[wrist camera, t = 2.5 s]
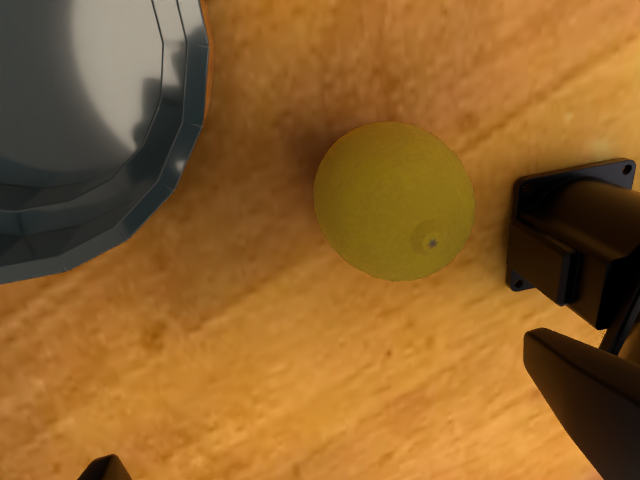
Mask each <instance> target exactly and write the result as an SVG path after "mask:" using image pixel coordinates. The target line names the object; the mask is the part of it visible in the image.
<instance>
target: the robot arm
mask: <svg viewBox="0 0 640 480" xmlns="http://www.w3.org/2000/svg"><path fill="white" fill-rule="evenodd" d="M624 167H625V168H624ZM623 168H624V170H623ZM635 169H636V164H635V162H634V161H633V160H630V159H627V158H620V159H615V160H610V161H605V162H599V163H594V164H589V165H584V166H578V167H573V168H568V169H563V170H558V171H552V172H547V173H542V174H537V175H531V176H526V177H522V178H520V179H519V180H517V182H516V183H515V185H514V189H513V202H512V215H511V222H510V226H509V239H508V252H507V278H506V284H507V286H508V287H509V288H510V289H511V290H512V291H515V292H517V291H522V290H527V289H531V288H537V289H538V290H539V291H541V292H542V293H543V294H544V295H546V296H547V297H548V298H550V299H551V300H552V301H553V302H555V303H556V304H557V305H558V306H565V305H566V306H567V307H568V308H570V309H571V310H572V311H574V312H575V313H576V314H578V315H579V316H580V317H581V318H583V319H584V320H585V321H587V322H588V323H589V324H590V325H592V326H593V327H594V328H596V329H597V330H603V329H607V330H606V333H605V335H604V337H603V339H602V341H601V343H600V346H599V348H595V347H593V346H590V345H588V344H585V343H583V342H580V341H578V340H575V339H572V338H570V337H567V336H565V335H562V334H560V333H557V332H555V331H552V330H549V329H547V328H538V329H534V330H531V331H527V332H526V333H525V335H524V346H523V361H524V365H525V368H526V370H527V372H528V373H529V375H530V376H531V378H532V379H533V381H534V382H535V384H536V386H537V387H538V389H539V390H540V392H541V393H542V395H543V397H544V398H545V400H546V401H547V403H548V404H549V406H550V407H551V409H552V411H553V412H554V414H555V415H556V417H557V418H558V420H559V421H560V423H561V424H562V426H563V427H564V429H565V430H566V432H567V433H568V434H569V436H570V437H571V438H572V440H573V441H574V442H575V444H576V445H577V446H578V447H579V449H580V450H581V451H582V452H583V454H584V455H585V456H586V458H587V459H588V460H589V461H590V463H591V464H592V465H593V466H594V468H595V469H596V470H597V471H598V473H599V474H600V475H601V477H602V478H603V479H604V480H640V193H639V192H636V191H633V190H631V189H632V184H633V179H634V174H635ZM622 170H623V171H622ZM525 185H528V186H527V188H526V189H525V190H524V191H523V188H524V186H525ZM516 281H518V282H517V283H516V284H515V282H516ZM77 480H132V479H131V477H130V475H129V474H128V472H127V470H126V469H125V467H124V465H123V464H122V462H121V461H120V459H119V458H118V456H117V455H115V454H111V455H107V456H104V457H100V458H97V459H95V460H93V461H92V462H91V463H90V464H89V466H88V467H87V468H86V469H85V471H84V472H83V473H82V474H81V476H80V477H79V478H78V479H77Z"/></svg>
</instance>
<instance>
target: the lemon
mask: <svg viewBox="0 0 640 480" xmlns="http://www.w3.org/2000/svg"><path fill="white" fill-rule="evenodd" d="M475 202H476V200H475V196H474V191H473V186H472V182H471V179H470V177H469V176H468V174H467V172H466V170H465V168H464V166H463V164H462V163H461V161H460V159H459V158H458V157H457V155H456V154H455V153H454V152H453V151H452V150H451V149H450V148H449V147H448V146H447V145H446V144H445V143H443V142H442V141H441V140H440V139H439V138H438V137H436V136H435V135H433V134H431V133H429V132H427V131H425V130H423V129H421V128H419V127H417V126H415V125H411V124H406V123H400V122H395V121H385V122H374V123H369V124H366V125H363V126H361V127H358V128H355V129H353V130H351V131H350V132H348V133H347V134H345V135H344V136H342V137H341V138H339V139H338V140H337V141H336V142H335V143H334V144H333V145H332V147H331V148H330V149H329V150H328V151H327V152H326V154H325V156H324V158H323V159H322V161H321V163H320V165H319V167H318V170H317V174H316V178H315V181H314V209H315V212H316V216H317V220H318V224H319V226H320V229H321V230H322V232H323V234H324V236H325V237H326V239H327V241H328V242H329V244H330V245H331V247H332V248H333V249H334V250H335V251H336V252H337V253H338V254H339V255H340V256H341V257H342V258H343V259H344V260H346V261H347V262H348V263H349V264H350V265H352V266H353V267H355V268H356V269H358V270H360V271H362V272H364V273H366V274H368V275H370V276H372V277H375V278H379V279H383V280H388V281H412V280H416V279H420V278H424V277H427V276H429V275H431V274H433V273H435V272H437V271H439V270H441V269H442V268H443V267H445V266H446V265H447V264H448V263H450V262H451V261H452V260H453V259H454V258H455V257H456V256H457V254H458V253H459V252H460V251H461V250H462V249H463V247H464V245H465V243H466V241H467V240H468V238H469V236H470V234H471V230H472V227H473V223H474V219H475Z"/></svg>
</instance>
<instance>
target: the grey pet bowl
mask: <svg viewBox="0 0 640 480" xmlns="http://www.w3.org/2000/svg"><path fill="white" fill-rule="evenodd" d="M214 51H215V46H214V39H213V34H212V29H211V24H210V20H209V15H208V10H207V5H206V1H205V0H0V285H1V284H6V283H11V282H16V281H21V280H26V279H32V278H37V277H42V276H47V275H52V274H58V273H63V272H66V271H70V270H72V269H74V268H76V267H78V266H80V265H82V264H84V263H85V262H87V261H89V260H91V259H93V258H95V257H97V256H99V255H101V254H103V253H105V252H107V251H108V250H110V249H112V248H114V247H116V246H118V245H120V244H122V243H124V242H126V241H127V240H128V239H130V238H131V237H132V236H133V235H134V234H135V233H136V232H137V231H138V230H139V229H140V228H141V227H142V226H143V225H144V224H145V223H146V221H147V220H148V219H149V218H150V217H151V216H152V215H153V214H154V213H155V212H156V211H157V210H158V209H159V208H160V207H161V206H162V205H163V204H164V202H165V201H166V200H167V199H168V198H169V197H170V196H171V195H172V194H173V193H174V190H176V188H177V186H178V184H179V181H180V179H181V177H182V174H183V172H184V170H185V168H186V165H187V163H188V161H189V158H190V156H191V154H192V151H193V149H194V147H195V145H196V142H197V140H198V138H199V135H200V133H201V131H202V128H203V125H204V122H205V119H206V115H207V112H208V109H209V105H210V98H211V86H212V75H213V63H214Z"/></svg>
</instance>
